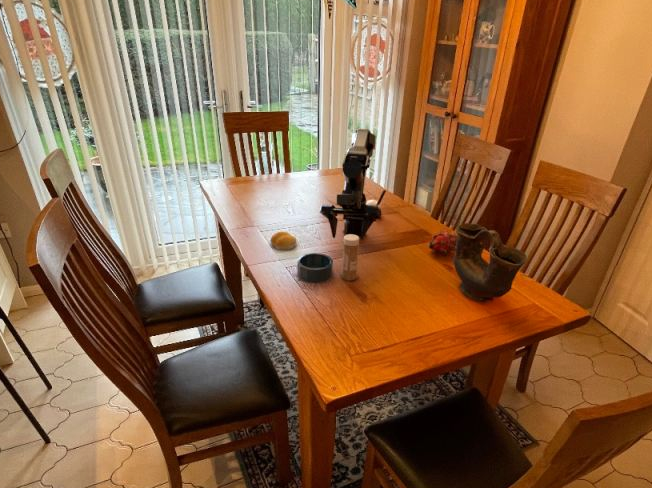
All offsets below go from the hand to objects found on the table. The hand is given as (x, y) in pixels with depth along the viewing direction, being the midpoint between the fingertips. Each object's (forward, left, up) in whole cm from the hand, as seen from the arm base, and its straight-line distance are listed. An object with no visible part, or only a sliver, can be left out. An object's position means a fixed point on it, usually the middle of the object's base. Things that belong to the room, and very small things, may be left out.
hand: (347, 238), depth 132 cm
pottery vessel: (-29, +29, -9) cm, 42 cm away
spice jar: (+3, +8, -9) cm, 13 cm away
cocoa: (-27, -34, -9) cm, 44 cm away
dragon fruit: (-34, +4, -9) cm, 36 cm away
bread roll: (+15, -20, -9) cm, 26 cm away
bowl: (+12, +3, -9) cm, 15 cm away
